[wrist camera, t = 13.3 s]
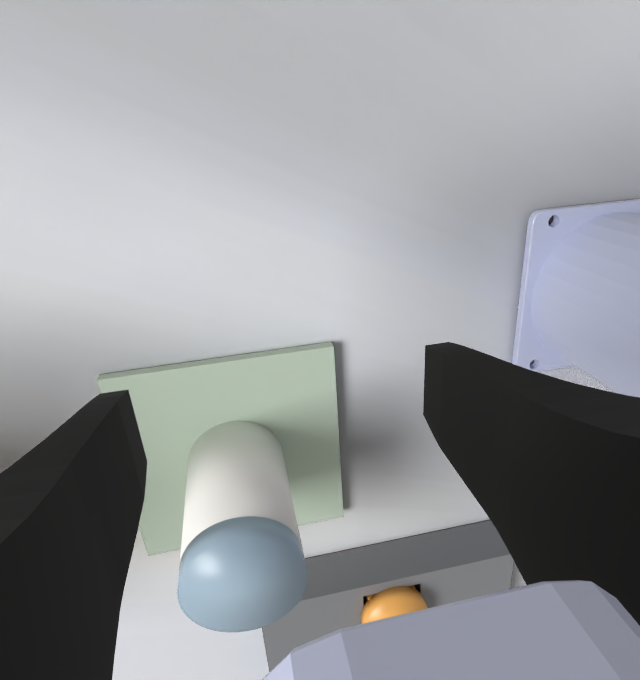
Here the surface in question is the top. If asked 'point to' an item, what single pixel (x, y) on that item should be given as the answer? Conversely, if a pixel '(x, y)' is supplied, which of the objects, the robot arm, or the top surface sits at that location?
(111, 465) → the robot arm
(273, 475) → the cylinder
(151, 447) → the mat
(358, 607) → the dock
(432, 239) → the top surface
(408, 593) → the plunger
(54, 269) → the top surface
